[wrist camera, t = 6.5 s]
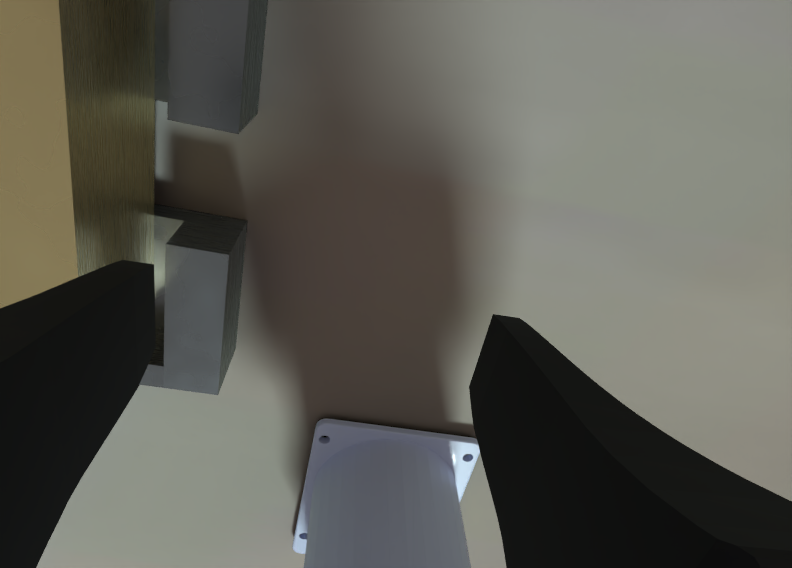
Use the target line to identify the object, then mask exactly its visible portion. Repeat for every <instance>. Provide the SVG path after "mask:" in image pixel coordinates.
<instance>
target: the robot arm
mask: <svg viewBox="0 0 792 568" xmlns="http://www.w3.org/2000/svg"><path fill="white" fill-rule="evenodd" d="M155 347H156V332H155V283H154V264H148V263H141V262H134V261H128V260H121V261H117V262H114V263H111V264H109V265H106V266H104V267H101V268H99V269H96V270H94V271H91V272H89V273H87V274H84V275H82V276H80V277H77V278H75V279H73V280H70V281H68V282H65V283H63V284H61V285H58V286H56V287H53V288H51V289H49V290H46V291H44V292H42V293H39V294H37V295H34V296H32V297H29V298H26V299H24V300H21V301H18V302H16V303H13V304H10V305H8V306H5V307H2V308H0V568H36V567H37V564H38V562H39V560H40V558H41V556H42V554H43V552H44V549H45V547H46V545H47V543H48V541H49V539H50V537H51V535H52V533H53V531H54V529H55V527H56V525H57V523H58V521H59V519H60V517H61V515H62V513H63V511H64V509H65V507H66V504H67V502H68V500H69V499H70V497H71V495H72V493H73V492H74V490H75V488H76V486H77V485H78V483H79V481H80V479H81V477H82V476H83V474H84V473H85V471H86V470H87V468H88V466H89V465H90V463H91V462H92V460H93V458H94V457H95V455H96V454H97V452H98V451H99V449H100V447H101V446H102V444H103V443H104V441H105V439H106V438H107V436H108V435H109V433H110V432H111V430H112V428H113V427H114V425H115V424H116V422H117V420H118V419H119V417H120V416H121V414H122V412H123V411H124V409H125V408H126V406H127V404H128V403H129V401H130V400H131V398H132V396H133V395H134V393H135V391H136V390H137V388H138V386H139V384H140V382H141V380H142V377H143V375H144V373H145V371H146V369H147V366H148V364H149V362H150V359H151V357H152V355H153V352H154V350H155ZM469 389H470V399H471V409H472V417H473V425H474V430H475V434H476V438H477V439H475V438H472V437H464V436H457V435H449V434H441V433H434V432H426V431H419V430H411V429H404V428H396V427H388V426H381V425H373V424H366V423H358V422H351V421H343V420H336V419H321V420H319V421H318V422H317V424H316V427H315V432H314V438H313V443H312V448H311V453H310V458H309V463H308V468H307V473H306V478H305V483H304V489H303V494H302V499H301V504H300V509H299V514H298V519H297V524H296V529H295V535H294V540H293V546H292V547H293V550H294V551H295V552H297V553H301V554H305V561H304V568H471V564H470V559H469V553H468V548H467V542H466V536H465V531H464V525H463V520H462V514H461V508H460V501H461V498H462V496H463V493H464V491H465V488H466V486H467V483H468V481H469V478H470V476H471V473H472V471H473V468H474V466H475V463H476V461H477V458H478V456H479V453H481V457H482V461H483V465H484V468H485V472H486V476H487V480H488V483H489V487H490V491H491V495H492V498H493V502H494V506H495V509H496V513H497V517H498V522H499V526H500V531H501V535H502V540H503V547H504V553H505V560H506V566H507V568H792V501H789V500H787V499H785V498H783V497H781V496H779V495H777V494H775V493H773V492H771V491H769V490H767V489H765V488H763V487H761V486H759V485H757V484H755V483H752V482H750V481H748V480H746V479H744V478H743V477H741V476H739V475H737V474H735V473H733V472H731V471H729V470H727V469H726V468H724V467H722V466H720V465H718V464H716V463H715V462H713V461H711V460H709V459H708V458H706V457H704V456H702V455H701V454H699V453H697V452H696V451H694V450H692V449H690V448H689V447H687V446H685V445H684V444H682V443H680V442H679V441H677V440H675V439H674V438H672V437H671V436H669V435H667V434H666V433H664V432H663V431H661V430H660V429H658V428H657V427H655V426H654V425H652V424H651V423H649V422H648V421H646V420H645V419H644V418H642V417H641V416H639V415H638V414H636V413H635V412H633V411H632V410H631V409H629V408H628V407H626V406H625V405H624V404H622V403H621V402H620V401H618V400H617V399H616V398H615V397H613V396H612V395H611V394H610V393H608V392H607V391H606V390H604V389H603V388H602V387H601V386H599V385H598V384H597V383H596V382H594V381H593V380H592V379H591V378H590V377H588V376H587V375H586V374H585V373H584V372H582V371H581V370H580V369H579V368H578V367H577V366H575V365H574V364H573V363H572V362H571V361H570V360H568V359H567V358H566V357H565V356H564V355H563V354H562V353H560V352H559V351H558V350H557V349H556V348H555V347H554V346H553V345H551V344H550V343H549V342H548V341H547V340H546V339H545V338H544V337H542V336H541V335H540V334H539V333H538V332H537V331H535V330H534V329H533V328H532V327H531V326H529V325H528V324H527V323H526V322H524V321H523V320H521V319H520V318H515V317H508V316H501V315H494V314H493V316H492V319H491V322H490V325H489V328H488V331H487V334H486V337H485V340H484V343H483V346H482V349H481V352H480V356H479V359H478V362H477V365H476V368H475V371H474V374H473V377H472V380H471V383H470V386H469ZM321 436H328V437H327V438H324V437H321ZM466 454H470V455H466ZM465 455H466V456H465Z"/></svg>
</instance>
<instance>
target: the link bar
mask: <svg viewBox="0 0 792 568" xmlns="http://www.w3.org/2000/svg"><path fill="white" fill-rule="evenodd" d="M154 133H155V0H0V308H2V307H5V306H8V305H10V304H13V303H16V302H18V301H21V300H24V299H26V298H29V297H32V296H34V295H37V294H39V293H42V292H44V291H46V290H49V289H51V288H53V287H56V286H58V285H61V284H63V283H65V282H68V281H70V280H73V279H75V278H77V277H80V276H82V275H84V274H87V273H89V272H91V271H94V270H96V269H99V268H101V267H104V266H106V265H109V264H111V263H114V262H117V261H121V260H128V261H134V262H141V263H148V264H154Z"/></svg>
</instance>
